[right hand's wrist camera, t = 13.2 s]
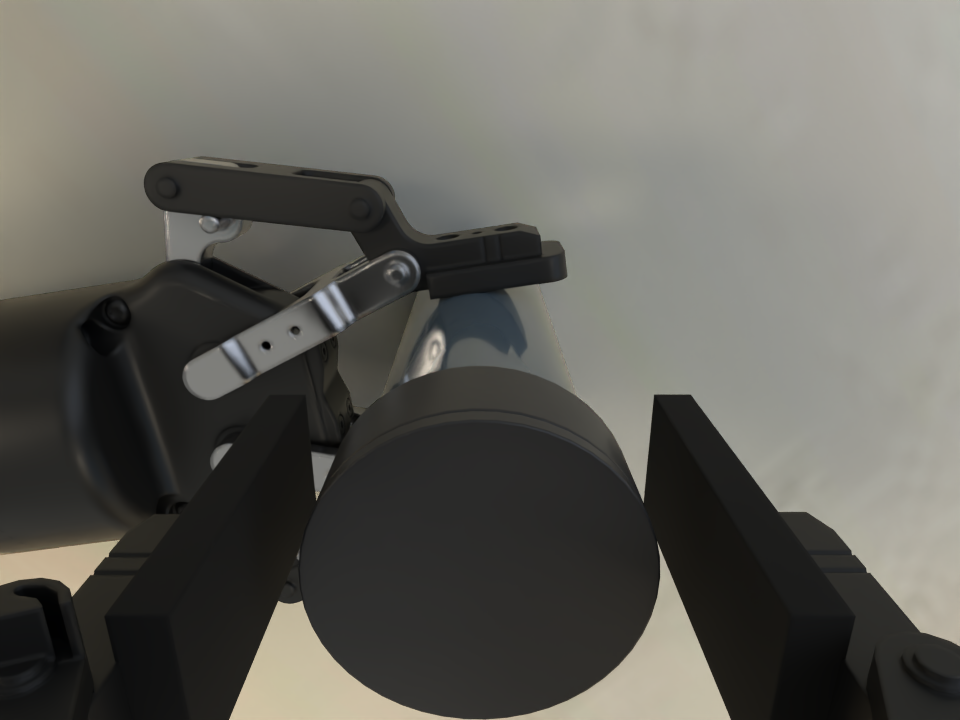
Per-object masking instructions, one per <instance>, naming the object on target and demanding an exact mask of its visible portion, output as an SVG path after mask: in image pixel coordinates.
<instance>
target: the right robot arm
mask: <svg viewBox="0 0 960 720" xmlns="http://www.w3.org/2000/svg"><path fill="white" fill-rule="evenodd" d="M315 503H316V495H315V484H314V474H313V464H312V454H311V443H310V433H309V423H308V413H307V402H306V395H269V396H268V397H267V399H266V400H265V401H264V403H263V404H262V405H261V407H260V408H259V409H258V411H257V412H256V413H255V415H254V416H253V417H252V419H251V420H250V421H249V423H248V424H247V425H246V427H245V428H244V429H243V431H242V432H241V433H240V435H239V436H238V437H237V439H236V440H235V441H234V443H233V444H232V445H231V447H230V448H229V450H228V451H227V452H226V454H225V455H224V456H223V458H222V459H221V460H220V462H219V463H218V464H217V466H216V467H215V468H214V470H213V471H212V472H211V474H210V475H209V476H208V478H207V479H206V480H205V482H204V483H203V484H202V486H201V487H200V488H199V490H198V491H197V492H196V494H195V495H194V496H193V498H192V499H191V500H190V502H189V503H188V504H187V506H186V507H185V508H184V510H183V511H182V512H181V514H154V515H152V516H151V517H149V518H148V519H146V520H145V521H143V522H142V523H140V524H139V525H137V526H135V527H134V528H132V529H131V530H129V531H128V532H127V533H126V534H125V535H124V536H123V537H122V538H121V540H120V541H119V542H118V543H117V544H116V546H115V547H114V548H113V549H112V550H111V552H110V553H109V557H105V559H104V560H103V561H102V562H101V563H100V565H99V566H98V567H97V568H96V569H95V571H94V575H90V576H89V578H88V579H87V580H86V581H85V582H84V584H83V585H82V586H81V587H80V588H79V590H78V591H77V592H76V593H75V594H74V596H73V597H72V596H71V592H70V589H69V588H68V587H67V586H65V585H64V584H63V583H61V582H60V581H57V580H51V579H45V578H36V579H26V580H18V581H14V582H11V583H8V584H4V585H1V586H0V720H229V718H230V716H231V713H232V711H233V709H234V706H235V704H236V701H237V699H238V697H239V694H240V692H241V689H242V687H243V684H244V682H245V680H246V677H247V675H248V672H249V670H250V667H251V665H252V663H253V660H254V658H255V655H256V653H257V651H258V648H259V646H260V643H261V641H262V638H263V636H264V634H265V631H266V629H267V626H268V624H269V622H270V619H271V617H272V614H273V612H274V609H275V607H276V605H277V602H278V600H279V597H280V595H281V593H282V590H283V588H284V585H285V583H286V580H287V578H288V576H289V573H290V571H291V568H292V566H293V564H294V561H295V559H296V556H297V554H298V551H299V549H300V546H301V542H302V538H303V534H304V530H305V527H306V525H307V522H308V520H309V518H310V515H311V513H312V510H313V508H314V506H315ZM644 506H645V508H646V510H647V513H648V515H649V518H650V520H651V523H652V526H653V529H654V532H655V535H656V538H657V542H658V544H659V547H660V549H661V551H662V554H663V556H664V559H665V561H666V564H667V566H668V568H669V571H670V573H671V576H672V578H673V580H674V583H675V585H676V588H677V590H678V593H679V595H680V597H681V600H682V602H683V605H684V607H685V609H686V612H687V614H688V617H689V619H690V622H691V624H692V626H693V629H694V631H695V634H696V636H697V638H698V641H699V643H700V646H701V648H702V651H703V653H704V655H705V658H706V660H707V663H708V665H709V668H710V670H711V672H712V675H713V677H714V680H715V682H716V684H717V687H718V689H719V692H720V694H721V697H722V699H723V701H724V704H725V706H726V709H727V711H728V713H729V716H730V718H731V720H960V646H958V645H956V644H954V643H952V642H950V641H947V640H944V639H941V638H938V637H935V636H932V635H929V634H926V633H920V631H919V630H918V629H917V628H916V627H915V625H914V624H913V623H912V622H911V621H910V620H909V618H908V617H907V616H906V615H905V614H904V612H903V611H902V610H901V609H900V608H899V607H898V605H897V604H896V603H895V602H894V601H893V599H892V598H891V597H890V596H889V595H888V594H887V592H886V591H885V590H884V589H883V588H882V586H881V585H880V584H879V583H878V582H877V581H876V579H875V578H874V577H873V576H872V575H871V573H867V572H866V568H865V566H864V565H863V564H862V563H861V562H860V560H859V559H858V558H857V557H856V556H855V555H852V553H851V550H850V549H849V548H848V546H847V545H846V544H845V543H844V542H843V540H842V539H841V538H840V537H839V536H838V535H837V533H836V532H835V531H834V530H833V529H831V528H830V527H828V526H827V525H825V524H824V523H822V522H821V521H819V520H818V519H816V518H814V517H813V516H811V515H810V514H808V513H807V512H778V511H777V510H776V508H775V507H774V506H773V504H772V503H771V502H770V500H769V499H768V498H767V496H766V495H765V494H764V492H763V491H762V490H761V488H760V487H759V486H758V484H757V483H756V482H755V480H754V479H753V478H752V476H751V475H750V474H749V472H748V471H747V470H746V468H745V467H744V466H743V464H742V463H741V462H740V460H739V459H738V458H737V456H736V455H735V454H734V452H733V451H732V450H731V448H730V447H729V446H728V444H727V443H726V441H725V440H724V439H723V437H722V436H721V435H720V433H719V432H718V431H717V429H716V428H715V427H714V425H713V424H712V423H711V421H710V420H709V419H708V417H707V416H706V415H705V413H704V412H703V411H702V409H701V408H700V407H699V405H698V404H697V403H696V401H695V400H694V399H693V397H692V396H691V395H654V402H653V413H652V423H651V433H650V443H649V454H648V464H647V474H646V484H645V495H644Z"/></svg>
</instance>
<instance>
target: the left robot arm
mask: <svg viewBox="0 0 960 720" xmlns="http://www.w3.org/2000/svg"><path fill="white" fill-rule="evenodd" d="M144 188H145V192H146V195H147V197H148V198H149V200H150V201H151V202H152V203H153V204H154V205H155V206H156V207H158V208H159V209H161V210H164V227H165V246H166V262H164V263H161V264H159V265H158V266H156V267H155V268H153V269H152V270H151V271H150V272H149V273H148V274H147V275H146V276H145V277H143V278H141V279H137V280H132V281H125V282H118V283H111V284H105V285H98V286H91V287H85V288H78V289H71V290H65V291H58V292H51V293H45V294H38V295H31V296H25V297H18V298H11V299H5V300H0V555H5V554H13V553H21V552H28V551H36V550H43V549H51V548H59V547H66V546H74V545H82V544H89V543H97V542H105V541H113V540H121V538H122V537H123V536H124V535H125V534H126V533H127V532H128V531H129V530H131V529H132V528H134V527H135V526H137V525H139V524H140V523H142V522H143V521H145V520H146V519H148V518H149V517H151V516H152V515H154V514H181V512H182V511H183V510H184V508H185V507H186V506H187V504H188V503H189V502H190V500H191V499H192V498H193V496H194V495H195V494H196V492H197V491H198V490H199V488H200V487H201V486H202V484H203V483H204V482H205V480H206V479H207V478H208V476H209V475H210V474H211V472H212V471H213V470H214V468H215V467H216V466H217V464H218V463H219V462H220V460H221V459H222V458H223V456H224V455H225V454H226V452H227V451H228V450H229V448H230V447H231V445H232V444H233V443H234V441H235V440H236V439H237V437H238V436H239V435H240V433H241V432H242V431H243V429H244V428H245V427H246V425H247V424H248V423H249V421H250V420H251V419H252V417H253V416H254V415H255V413H256V412H257V411H258V409H259V408H260V407H261V405H262V404H263V403H264V401H265V400H266V399H267V397H268V396H269V395H306V402H307V413H308V423H309V433H310V443H311V454H312V464H313V474H314V484H315V491H319V492H320V491H321V489H322V487H323V484H324V482H325V480H326V477H327V475H328V472H329V470H330V468H331V465H332V463H333V460H334V458H335V456H336V453H337V451H338V449H339V446H340V444H341V442H342V441H343V439H344V437H345V436H346V434H347V432H348V431H349V429H350V428H351V426H352V425H353V424H354V423H355V422H356V420H357V419H358V418H359V417H360V416H361V414H362V413H363V412H364V411H365V410H367V409H368V408H362V407H356V406H352V401H351V397H350V393H349V390H348V389H347V387H346V385H345V383H344V381H343V379H342V378H341V376H340V374H339V372H338V369H337V361H338V342H337V337H336V335H337V334H339V333H341V332H342V331H344V330H345V329H346V328H348V327H349V326H350V325H351V324H353V323H354V322H356V321H357V320H359V319H361V318H363V317H365V316H367V315H369V314H371V313H373V312H375V311H376V310H378V309H380V308H382V307H384V306H386V305H388V304H390V303H392V302H394V301H396V300H398V299H400V298H402V297H403V296H405V295H407V294H409V293H411V292H417V291H423V290H429V295H430V300H432V299H439V298H446V297H453V296H459V295H463V294H472V293H480V292H487V291H494V290H501V289H508V288H515V287H522V286H528V285H535V284H542V283H549V282H555V281H559V280H562V279H564V278H566V277H567V269H566V259H565V250H564V249H563V247H562V245H561V244H560V242H559V241H541V238H540V234H539V232H538V230H537V228H536V227H533V226H529V225H525V224H521V223H512V224H505V225H499V226H492V227H485V228H479V229H472V230H465V231H459V232H452V233H446V234H439V235H426V234H422V233H420V232H418V231H416V230H415V229H414V228H412V227H411V226H410V224H409V223H408V222H407V220H406V218H405V217H404V215H403V213H402V212H401V210H400V208H399V206H398V205H397V203H396V201H395V194H394V190H393V188H392V186H391V185H390V184H389V182H387V181H386V180H385V179H383V178H381V177H379V176H373V175H364V174H356V173H347V172H338V171H329V170H320V169H311V168H302V167H293V166H284V165H275V164H266V163H257V162H249V161H240V160H231V159H222V158H213V157H195V158H186V159H180V160H173V161H169V162H163V163H158V164H155V165H154V166H152V167H151V168H150V169H149V170H148V171H147V173H146V175H145V178H144ZM253 221H258V222H267V223H276V224H285V225H294V226H303V227H313V228H322V229H331V230H340V231H349V232H351V233H352V235H353V236H354V238H355V239H356V241H357V243H358V244H359V246H360V248H361V249H362V251H363V253H364V255H362V256H361V257H359V258H357V259H355V260H353V261H351V262H349V263H347V264H343V265H341V266H339V267H337V268H335V269H333V270H331V271H329V272H327V273H325V274H323V275H322V276H320V277H318V278H316V279H314V280H312V281H310V282H308V283H307V284H305V285H303V286H301V287H299V288H297V289H295V290H294V291H292V292H290V293H288V292H286V291H284V290H282V289H280V288H278V287H276V286H274V285H272V284H270V283H268V282H266V281H264V280H261V279H259V278H257V277H255V276H253V275H251V274H249V273H247V272H245V271H243V270H241V269H239V268H237V267H234V266H232V265H230V264H228V263H226V262H224V261H222V260H220V259H218V258H216V257H214V256H213V250H214V247H215V245H216V244H217V243H218V242H228V241H231V240H233V239H235V238H237V237H239V236H241V235H243V234H245V233H246V232H247V231H248V230H249V229H250V227H251V225H252V222H253ZM299 553H300V549H299V551H298V554H297V556H296V559H295V561H294V564H293V566H292V568H291V571H290V573H289V576H288V578H287V580H286V583H285V585H284V588H283V590H282V593H281V595H280V597H279V600H278V601H280V602H283V603H288V604H291V603H297V602H299V601H302V595H301V591H300V585H299V572H298V565H299Z"/></svg>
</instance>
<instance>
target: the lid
mask: <svg viewBox="0 0 960 720" xmlns="http://www.w3.org/2000/svg"><path fill="white" fill-rule="evenodd" d="M298 572H299V585H300V591H301V595H302V600H303V604H304V608H305V611H306V613H307V616H308V618H309V620H310V623H311V625H312V627H313V629H314V631H315V633H316V634H317V636H318V638H319V639H320V641H321V643H322V644H323V646H324V647H325V648H326V649H327V651H328V652H329V653H330V654H331V656H332V657H333V658H334V659H335V660H336V661H337V662H338V663H339V664H340V665H341V666H342V667H343V668H344V669H345V670H346V671H347V672H348V673H349V674H350V675H352V676H353V677H354V678H355V679H357V680H358V681H359V682H361V683H362V684H363V685H365V686H366V687H368V688H370V689H371V690H373V691H375V692H376V693H378V694H380V695H381V696H383V697H385V698H388V699H390V700H392V701H394V702H396V703H399V704H401V705H403V706H406V707H409V708H412V709H415V710H418V711H421V712H426V713H430V714H435V715H439V716H444V717H453V718H461V719H496V718H508V717H513V716H519V715H524V714H529V713H533V712H536V711H540V710H543V709H547V708H550V707H552V706H555V705H557V704H560V703H562V702H565V701H567V700H569V699H571V698H573V697H575V696H577V695H579V694H580V693H582V692H584V691H586V690H588V689H589V688H591V687H592V686H593V685H595V684H596V683H598V682H599V681H601V680H602V679H604V678H605V677H606V676H607V675H608V674H609V673H610V672H611V671H613V670H614V669H615V668H616V667H617V666H618V665H619V664H620V663H621V662H622V661H623V660H624V658H625V657H626V656H627V655H628V654H629V653H630V652H631V651H632V649H633V648H634V646H635V645H636V643H637V642H638V640H639V639H640V637H641V636H642V634H643V632H644V630H645V628H646V626H647V624H648V622H649V620H650V618H651V615H652V612H653V609H654V605H655V602H656V599H657V595H658V588H659V581H660V555H659V550H658V544H657V538H656V535H655V532H654V529H653V526H652V523H651V520H650V518H649V515H648V513H647V510H646V508H645V506H644V503H643V501H642V499H641V496H640V494H639V491H638V489H637V487H636V484H635V482H634V479H633V477H632V475H631V472H630V470H629V468H628V465H627V463H626V460H625V458H624V456H623V453H622V451H621V449H620V447H619V445H618V443H617V441H616V439H615V438H614V436H613V434H612V433H611V431H610V430H609V429H608V427H607V426H606V424H605V423H604V422H603V420H602V419H601V418H600V417H599V416H598V415H597V414H596V413H595V412H594V411H593V410H592V409H591V408H590V407H589V406H588V405H587V404H586V403H584V402H583V401H582V400H580V399H579V398H578V397H577V396H575V395H574V394H573V393H571V392H569V391H568V390H566V389H564V388H562V387H561V386H559V385H557V384H556V383H553V382H551V381H549V380H546V379H544V378H541V377H539V376H537V375H533V374H530V373H526V372H523V371H519V370H515V369H509V368H502V367H495V366H466V367H456V368H449V369H445V370H440V371H436V372H431V373H428V374H426V375H423V376H420V377H417V378H415V379H412V380H410V381H408V382H406V383H404V384H402V385H400V386H398V387H396V388H394V389H392V390H391V391H389V392H388V393H387V394H385V395H384V396H382V397H381V398H379V399H378V400H376V401H375V402H374V403H373V404H372V405H371V406H370V407H369V408H368V409H367V410H365V411H364V412H363V413H362V414H361V416H360V417H359V418H358V419H357V420H356V422H355V423H354V424H353V425H352V426H351V428H350V429H349V431H348V432H347V434H346V436H345V437H344V439H343V441H342V442H341V444H340V446H339V449H338V451H337V453H336V456H335V458H334V460H333V463H332V465H331V468H330V470H329V472H328V475H327V477H326V480H325V482H324V484H323V487H322V489H321V491H320V494H319V496H318V499H317V501H316V503H315V506H314V508H313V510H312V513H311V515H310V518H309V520H308V522H307V525H306V527H305V530H304V534H303V538H302V542H301V546H300V553H299V565H298Z"/></svg>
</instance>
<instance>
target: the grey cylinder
mask: <svg viewBox="0 0 960 720" xmlns="http://www.w3.org/2000/svg"><path fill="white" fill-rule="evenodd" d="M466 366H495V367H502V368H509V369H515V370H519V371H523V372H526V373H530V374H533V375H537V376H539V377H541V378H544V379H546V380H549V381H551V382H553V383H556V384H557V385H559V386H561V387H562V388H564V389H566V390H568V391H569V392H571V393H573V394H574V395H575V396H577V395H576V392H575V389H574V386H573V383H572V380H571V377H570V374H569V372H568V369H567V366H566V363H565V360H564V357H563V354H562V351H561V348H560V345H559V342H558V339H557V337H556V334H555V331H554V328H553V325H552V322H551V319H550V316H549V313H548V310H547V307H546V305H545V302H544V299H543V296H542V293H541V290H540V287H539V284H535V285H528V286H522V287H515V288H508V289H501V290H494V291H487V292H480V293H472V294H463V295H459V296H453V297H446V298H439V299H432V300H430V295H429V290H423V291H418V292H417V295H416V298H415V301H414V304H413V307H412V310H411V313H410V316H409V319H408V321H407V324H406V327H405V330H404V333H403V336H402V339H401V342H400V345H399V348H398V350H397V353H396V356H395V359H394V362H393V365H392V368H391V371H390V374H389V377H388V379H387V382H386V385H385V388H384V391H383V394H382V396H384V395H385V394H387V393H388V392H389V391H391V390H392V389H394V388H396V387H398V386H400V385H402V384H404V383H406V382H408V381H410V380H412V379H415V378H417V377H420V376H423V375H426V374H428V373H431V372H436V371H440V370H445V369H449V368H456V367H466Z"/></svg>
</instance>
